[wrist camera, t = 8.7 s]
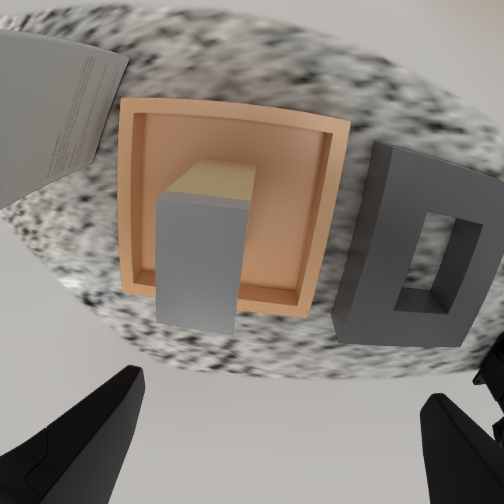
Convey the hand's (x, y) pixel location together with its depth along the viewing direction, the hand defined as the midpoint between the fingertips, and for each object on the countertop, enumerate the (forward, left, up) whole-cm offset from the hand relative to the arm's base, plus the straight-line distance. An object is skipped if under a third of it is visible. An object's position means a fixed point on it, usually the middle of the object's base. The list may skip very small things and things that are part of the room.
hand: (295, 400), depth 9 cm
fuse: (+4, -2, -12) cm, 12 cm away
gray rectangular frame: (-9, -1, -12) cm, 16 cm away
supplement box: (+15, -8, -13) cm, 21 cm away
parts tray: (+4, -2, -12) cm, 13 cm away
